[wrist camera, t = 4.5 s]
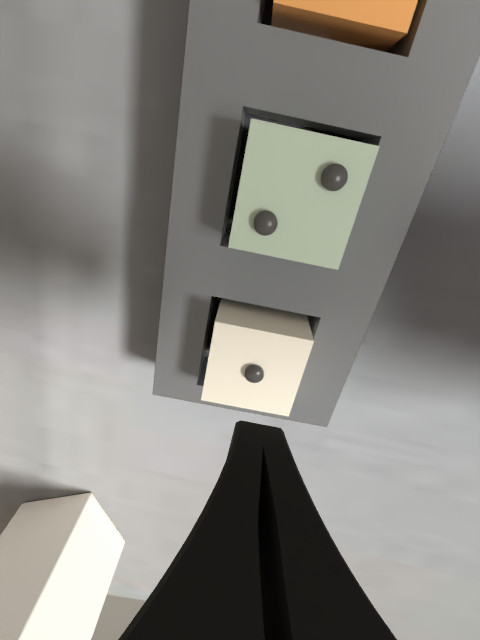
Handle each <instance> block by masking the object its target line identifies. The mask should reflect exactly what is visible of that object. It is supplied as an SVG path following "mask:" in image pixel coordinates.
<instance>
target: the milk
mask: <svg viewBox="0 0 480 640" xmlns="http://www.w3.org/2000/svg"><path fill="white" fill-rule="evenodd" d="M124 543H125V540H124V539H123V537H122V536H121V534H120V533H119V531H118V530H117V529H116V527H115V526H114V524H113V523H112V521H111V520H110V518H109V517H108V516H107V514H106V513H105V511H104V510H103V508H102V507H101V505H100V504H99V503H98V501H97V500H96V498H95V497H94V495H93V494H92V493H85V494H78V495H72V496H65V497H59V498H52V499H46V500H39V501H33V502H26V503H23V504H22V505H21V506H20V507H19V509H18V510H17V512H16V513H15V515H14V516H13V518H12V519H11V521H10V522H9V523H8V525H7V526H6V528H5V529H4V531H3V532H2V534H1V535H0V640H91V638H92V635H93V632H94V629H95V627H96V624H97V621H98V618H99V615H100V612H101V609H102V606H103V603H104V601H105V598H106V595H107V592H108V589H109V586H110V584H111V581H112V578H113V575H114V572H115V569H116V566H117V564H118V561H119V558H120V555H121V552H122V549H123V546H124Z"/></svg>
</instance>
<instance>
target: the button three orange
mask: <svg viewBox="0 0 480 640" xmlns="http://www.w3.org/2000/svg"><path fill="white" fill-rule="evenodd" d="M417 2H418V0H274V1H273V11H272V23H271V26H273V27H278V28H282V29H286V30H291V31H295V32H299V33H304V34H308V35H313V36H317V37H321V38H326V39H330V40H334V41H339V42H343V43H348V44H352V45H356V46H361V47H365V48H369V49H374V50H378V51H383V52H385V51H386V50H387V49H389V48H390V47H391V46H392V45H394V44H395V43H396V42H397V41H398V40H400V39H401V38H402V37H403V36H405V35H406V34H407V33H408V30H409V27H410V24H411V20H412V17H413V14H414V11H415V8H416V5H417Z"/></svg>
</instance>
